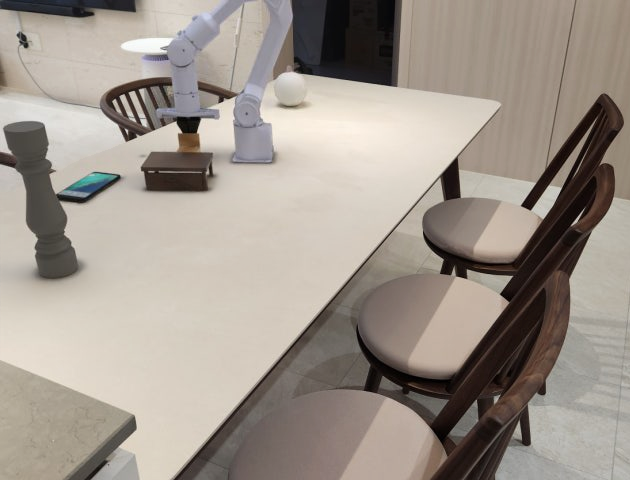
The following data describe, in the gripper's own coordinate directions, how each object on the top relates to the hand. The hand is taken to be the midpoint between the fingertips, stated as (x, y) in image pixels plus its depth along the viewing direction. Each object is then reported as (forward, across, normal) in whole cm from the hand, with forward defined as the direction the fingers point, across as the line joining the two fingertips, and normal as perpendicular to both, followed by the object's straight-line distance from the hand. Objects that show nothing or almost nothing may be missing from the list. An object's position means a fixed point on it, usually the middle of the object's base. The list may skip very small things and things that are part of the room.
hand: (192, 147), depth 156 cm
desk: (+3, 0, +16) cm, 16 cm away
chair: (+3, 0, +5) cm, 6 cm away
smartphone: (+3, +19, +20) cm, 28 cm away
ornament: (+3, -22, -50) cm, 55 cm away
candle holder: (+3, +13, +56) cm, 58 cm away
